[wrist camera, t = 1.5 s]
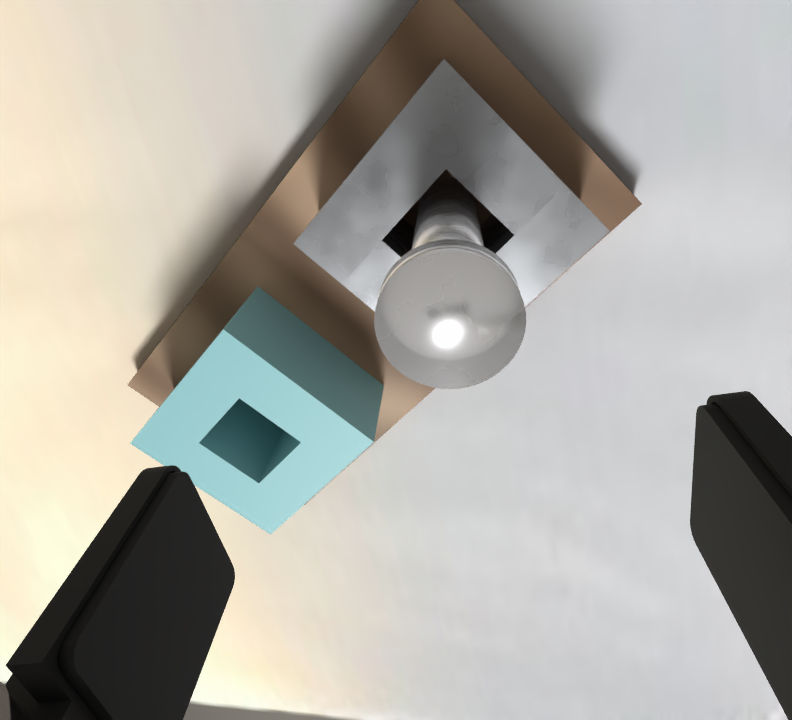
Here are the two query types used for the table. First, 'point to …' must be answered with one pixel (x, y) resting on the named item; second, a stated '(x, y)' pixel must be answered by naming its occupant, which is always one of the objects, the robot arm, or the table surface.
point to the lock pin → (449, 298)
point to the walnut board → (335, 159)
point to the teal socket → (265, 414)
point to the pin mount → (475, 169)
